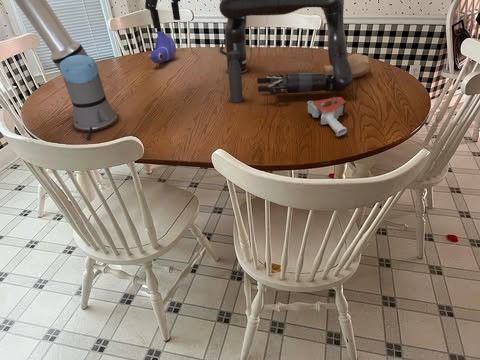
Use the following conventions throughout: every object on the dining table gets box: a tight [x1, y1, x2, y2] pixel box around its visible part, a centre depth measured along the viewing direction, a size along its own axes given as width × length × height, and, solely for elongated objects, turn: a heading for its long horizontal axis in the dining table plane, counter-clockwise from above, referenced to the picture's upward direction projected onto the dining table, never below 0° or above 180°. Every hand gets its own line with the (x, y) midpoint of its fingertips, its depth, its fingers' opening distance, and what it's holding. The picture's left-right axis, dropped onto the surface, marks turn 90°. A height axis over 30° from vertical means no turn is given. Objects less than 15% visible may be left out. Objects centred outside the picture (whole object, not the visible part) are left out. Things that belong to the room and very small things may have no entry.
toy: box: [149, 30, 177, 68], centre depth 183 cm, size 10×17×25 cm
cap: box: [228, 51, 240, 60], centre depth 133 cm, size 4×4×2 cm
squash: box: [322, 52, 370, 79], centre depth 156 cm, size 11×20×9 cm, turn 92°
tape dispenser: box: [307, 96, 348, 137], centre depth 123 cm, size 18×5×20 cm
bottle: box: [227, 59, 244, 104], centre depth 138 cm, size 5×5×18 cm
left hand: (167, 24), depth 139 cm, fingers open, 13 cm apart
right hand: (257, 84), depth 139 cm, fingers open, 8 cm apart
